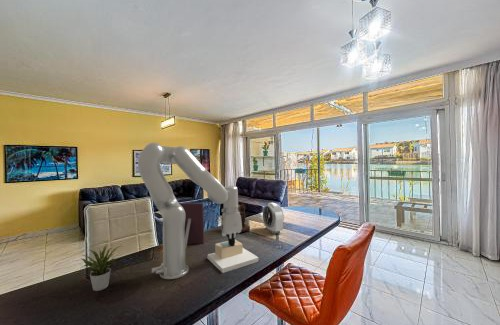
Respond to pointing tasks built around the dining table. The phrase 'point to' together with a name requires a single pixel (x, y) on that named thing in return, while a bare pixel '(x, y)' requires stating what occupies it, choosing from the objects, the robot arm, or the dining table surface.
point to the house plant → (100, 269)
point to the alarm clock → (273, 218)
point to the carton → (228, 249)
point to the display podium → (233, 261)
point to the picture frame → (193, 223)
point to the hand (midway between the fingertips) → (231, 245)
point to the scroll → (243, 217)
